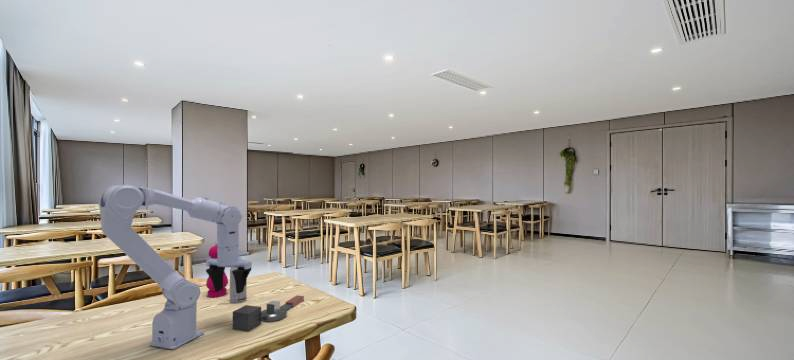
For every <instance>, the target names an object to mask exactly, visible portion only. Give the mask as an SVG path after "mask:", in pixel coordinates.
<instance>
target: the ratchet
mask: <svg viewBox="0 0 794 360" xmlns="http://www.w3.org/2000/svg"><path fill="white" fill-rule="evenodd" d="M304 301H305V295H294V296H293V297H291V298H290V299H288V300H287V301H285V303H284V304H282V305H281V301H279V300H271V301H269V302H267V303H266V309H263V310H261V323H262V322H263V323H269V324H270V323H277V322H280V321H283V320H285V319H286V318H287V315H288V311H289V310H291V309H292V308H295V307H297V306H299V305H300V304H301V303H303V302H304Z"/></svg>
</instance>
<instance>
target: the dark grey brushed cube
mask: <svg viewBox="0 0 794 360" xmlns="http://www.w3.org/2000/svg"><path fill="white" fill-rule="evenodd" d="M261 311H262V306H257V305H250V304H249V305H248V304H245V305H243V306H241V307H239V308H237V309H235V310H234V311H232V330H234V331H240V332H241V331H242V332H250V331H252V330H254V329H256V328H257V327H259V326H260V325H261V324H262V321H261Z"/></svg>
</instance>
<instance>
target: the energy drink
mask: <svg viewBox="0 0 794 360" xmlns="http://www.w3.org/2000/svg"><path fill="white" fill-rule="evenodd" d="M236 269H238V268H231V267H230V270H229V302H230V303H232V304H239V303H242V302H244V301H246V300H247V288H248V287H247V282H248V281H247V279H248V278H247V279H246V283H245V286H244V291H243V292H241V293H239V294H238V293H237V292H236V283H235V278H234V275H233V273H232V271H234V270H236Z"/></svg>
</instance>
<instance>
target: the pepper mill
mask: <svg viewBox="0 0 794 360" xmlns="http://www.w3.org/2000/svg"><path fill="white" fill-rule="evenodd" d="M214 244H215V245H213V246H211V247H210V248H209V249H208V252H207V253H208V256H209V257H210V259H218V249H217V241H216V242H215V243H214ZM228 284H229V279H228V275H227V274H226V272H225V270H224V275H223V289H222V290H220V291H217V292H216V291H215V288H214V285H213V282H212V280H211V278H210V276H209V275H208V276H207V279H206V283H205V285H206V288H207V289H208V291H207V295H206V296H207V297H209V298H220V297H223V296H225V295H226V294H227V291H228V290H227V288H226V287H227V286H228Z"/></svg>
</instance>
